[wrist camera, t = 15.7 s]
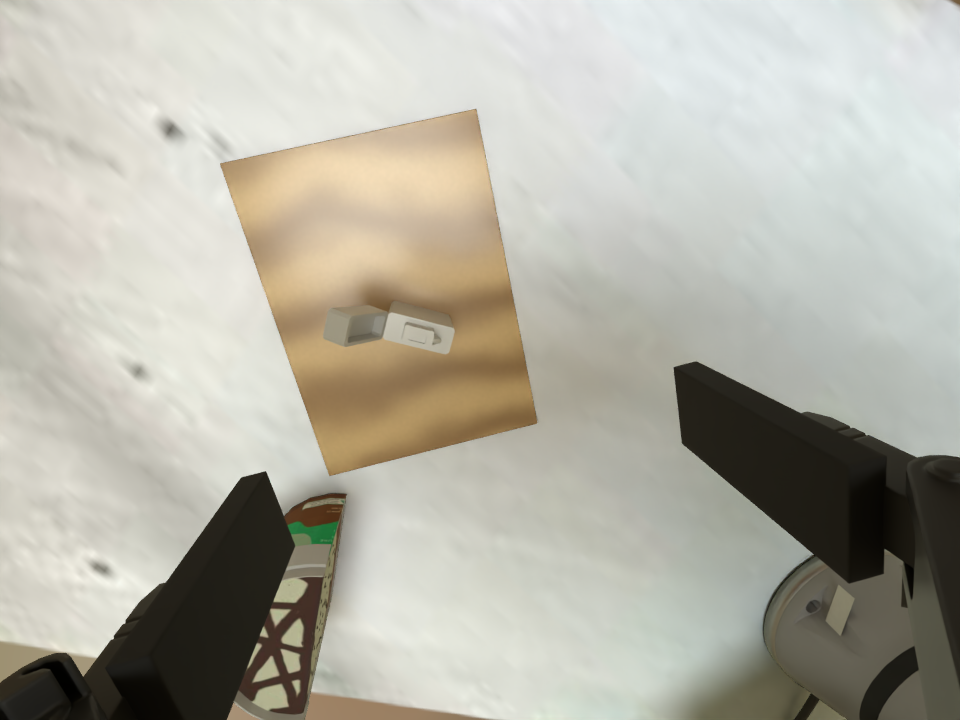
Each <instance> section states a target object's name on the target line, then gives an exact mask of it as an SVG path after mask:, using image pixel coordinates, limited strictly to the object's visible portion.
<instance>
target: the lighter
mask: <svg viewBox="0 0 960 720" xmlns="http://www.w3.org/2000/svg"><path fill="white" fill-rule="evenodd" d="M454 333H455V330H454V327H453V324H452V321H451V318H450V316H449V315H448V314H444V313H440V312H436V311H432V310H429V309H425V308H421V307H417V306H413V305H409V304H406V303H402V302H398V301H393V302H392V303H391V306H390V309H389V313H388V312H387V311H384V310H381V309H378V308H375V307H373V306H370V305H363V306H350V307H337V308H330V309H329V311H328V314H327V318H326V323H325V328H324V333H323V338H324V339H325V340H328V341H330V342H333V343H335V344H338V345H340V346H343V347H348V346H353V345H357V344H362V343H367V342H371V341H376V340H381V339H382V337H383V338H384V339H385V340H388V341H392V342H396V343H400V344H404V345H409V346H413V347H417V348H421V349H425V350H429V351H433V352H437V353H441V354H445V355H446V354H447V353H449V351H450V347H451V343H452V340H453V336H454Z"/></svg>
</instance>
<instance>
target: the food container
mask: <svg viewBox="0 0 960 720" xmlns="http://www.w3.org/2000/svg"><path fill="white" fill-rule="evenodd" d="M346 496H347V494H327V495H322V496H317V497H312V498H309V499H307V500H306V501H304V502H302V503H300V504H298V505H296V506H294V507H293V508H292V509H291V510H290V511H289V512H288V513H287V514H286V515H285V516H284V518H285V520H286V523H287V525H288V528H289V530H290V533H291V535H292V538H293V541H294V543H295V548H294V551H293V553H292V556H291V558H290V561H289V563H288V566H287V568H286V571H285V573H284V576H283V578H282V581H281V584H280V586H279V589H278V591H277V594H276V596H275V599H274V601H273V604H272V606H271V609H270V611H269V614H268V616H267V619H266V621H265V624H264V627H263V629H262V632H261V634H260V637H259V639H258V642H257V644H256V647H255V649H254V652H253V654H252V657H251V659H250V662H249V665H248V667H247V670H246V672H245V675H244V677H243V680H242V682H241V685H240V687H239V690H238V692H237V695H236V697H235V700H234V703H235V704H236V705H237V706H238V707H239V708H241V709H242V710H244V711H245V712H247V713H248V714H250V715H252V716H254V717H256V718H258V719H260V720H305V717H306V713H307V709H308V704H309V697H310V693H311V688H312V684H313V679H314V675H315V670H316V666H317V661H318V657H319V652H320V648H321V643H322V638H323V634H324V629H325V625H326V620H327V616H328V611H329V607H330V602H331V598H332V592H333V585H334V578H335V571H336V564H337V557H338V551H339V544H340V537H341V530H342V523H343V516H344V509H345V503H346Z"/></svg>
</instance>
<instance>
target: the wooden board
mask: <svg viewBox="0 0 960 720" xmlns="http://www.w3.org/2000/svg"><path fill="white" fill-rule="evenodd" d="M220 165H221V168H222V171H223V174H224V177H225V179H226V182H227V185H228V188H229V191H230V194H231V197H232V199H233V202H234V205H235V208H236V211H237V214H238V217H239V219H240V222H241V225H242V228H243V231H244V234H245V236H246V239H247V242H248V245H249V248H250V251H251V254H252V256H253V259H254V262H255V265H256V268H257V271H258V274H259V276H260V279H261V282H262V285H263V288H264V291H265V293H266V296H267V299H268V302H269V305H270V308H271V311H272V313H273V316H274V319H275V322H276V325H277V328H278V330H279V333H280V336H281V339H282V342H283V345H284V348H285V350H286V353H287V356H288V359H289V362H290V365H291V368H292V370H293V373H294V376H295V379H296V382H297V385H298V387H299V390H300V393H301V396H302V399H303V402H304V405H305V407H306V410H307V413H308V416H309V419H310V422H311V425H312V427H313V430H314V433H315V436H316V439H317V442H318V444H319V447H320V450H321V453H322V456H323V459H324V462H325V464H326V467H327V470H328V473H329V476H331V475H335V474H339V473H343V472H347V471H351V470H355V469H359V468H363V467H367V466H371V465H375V464H378V463H382V462H386V461H390V460H394V459H398V458H402V457H406V456H410V455H414V454H418V453H422V452H426V451H430V450H434V449H438V448H442V447H446V446H450V445H454V444H458V443H462V442H466V441H470V440H474V439H477V438H481V437H485V436H489V435H493V434H497V433H501V432H505V431H509V430H513V429H517V428H521V427H525V426H529V425H533V424H537V418H536V413H535V408H534V403H533V398H532V393H531V388H530V383H529V377H528V372H527V367H526V362H525V357H524V352H523V347H522V342H521V336H520V331H519V326H518V321H517V316H516V311H515V306H514V300H513V295H512V290H511V285H510V280H509V275H508V270H507V265H506V259H505V254H504V249H503V244H502V239H501V234H500V229H499V224H498V218H497V213H496V208H495V203H494V198H493V193H492V188H491V183H490V177H489V172H488V167H487V162H486V157H485V152H484V147H483V141H482V136H481V131H480V126H479V121H478V116H477V111H476V109H474V110H469V111H464V112H460V113H455V114H450V115H446V116H441V117H436V118H432V119H427V120H422V121H418V122H413V123H408V124H403V125H399V126H394V127H389V128H385V129H380V130H375V131H371V132H366V133H361V134H357V135H352V136H347V137H343V138H338V139H333V140H328V141H324V142H319V143H314V144H310V145H305V146H300V147H296V148H291V149H286V150H282V151H277V152H272V153H267V154H263V155H258V156H253V157H249V158H244V159H239V160H235V161H230V162H225V163H221V164H220ZM393 301H398V302H402V303H406V304H409V305H413V306H417V307H421V308H425V309H429V310H432V311H436V312H440V313H444V314H448V315H449V316H450V318H451V321H452V324H453V327H454V330H455V333H454V336H453V340H452V343H451V347H450V351H449V353H447V354H446V355H445V354H441V353H437V352H433V351H429V350H425V349H421V348H417V347H413V346H409V345H404V344H400V343H396V342H392V341H388V340H385V339H384V338H383V337H382V339H381V340H376V341H371V342H367V343H362V344H357V345H353V346H348V347H343V346H340V345H338V344H335V343H333V342H330V341H328V340H325V339H324V338H323V333H324V328H325V323H326V318H327V314H328V311H329V309H330V308H337V307H350V306H363V305H370V306H373V307H375V308H378V309H381V310H384V311H387V312H388V313H389V309H390V306H391V303H392V302H393Z"/></svg>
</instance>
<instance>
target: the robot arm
mask: <svg viewBox="0 0 960 720" xmlns="http://www.w3.org/2000/svg"><path fill="white" fill-rule="evenodd" d="M674 376H675V385H676V393H677V402H678V411H679V420H680V429H681V438H682V444H683V445H684V446H686V447H687V448H688V449H689V450H690V451H692V452H693V453H694V454H695V455H696V456H698V457H699V458H700V459H701V460H702V461H703V462H705V463H706V464H707V465H708V466H709V467H711V468H712V469H713V470H714V471H715V472H717V473H718V474H719V475H720V476H721V477H723V478H724V479H725V480H726V481H727V482H728V483H730V484H731V485H732V486H733V487H734V488H736V489H737V490H738V491H739V492H740V493H742V494H743V495H744V496H745V497H746V498H747V499H749V500H750V501H751V502H752V503H753V504H755V505H756V506H757V507H758V508H759V509H761V510H762V511H763V512H764V513H765V514H767V515H768V516H769V517H770V518H771V519H772V520H774V521H775V522H776V523H777V524H778V525H780V526H781V527H782V528H783V529H784V530H786V531H787V532H788V533H789V534H790V535H792V536H793V537H794V538H795V539H796V540H797V541H799V542H800V543H801V544H802V545H803V546H805V547H806V548H807V549H808V550H809V551H811V552H812V553H813V554H814V555H815V556H816V557H814V558H813V559H811V560H809V561H808V562H806V563H805V564H804V565H802V566H801V567H800V568H798V569H797V570H796V571H795V572H794V573H793V574H792V575H791V576H790V577H789V578H788V579H787V580H786V581H785V582H784V583H783V585H782V586H781V587H780V588H779V590H778V591H777V593H776V594H775V596H774V598H773V600H772V602H771V604H770V606H769V608H768V611H767V614H766V618H765V624H764V638H765V643H766V646H767V649H768V651H769V653H770V654H771V656H772V657H773V658H774V660H775V661H776V662H777V663H778V665H779V666H780V667H781V668H782V670H783V671H784V672H785V673H786V674H787V675H788V676H789V677H791V678H792V679H793V680H794V681H795V682H796V683H797V684H799V685H800V686H801V687H803V688H805V689H807V690H808V691H809V692H810V693H811V694H810V696H809V698H808V699H807V701H806V702H805V704H804V705H803V707H802V709H801V710H800V712H799V713H798V714H797V716H796V717H795V719H794V720H806V719H807V718H808V717H809V715H810V714H811V712H812V711H813V709H814V707H815V706H816V704H817V703H818V701H819V700H821V701H822V702H824V703H825V704H826V705H828V706H829V707H831V708H832V709H833V710H835V711H836V712H838V713H839V714H840V715H842V716H843V717H845V718H846V719H847V720H960V457H953V456H946V455H929V456H923V457H918V458H916V457H914V456H912V455H910V454H908V453H906V452H904V451H902V450H899V449H897V448H895V447H893V446H891V445H889V444H887V443H885V442H882V441H880V440H878V439H876V438H874V437H872V436H870V435H867V436H866V435H865V433H863V432H861V431H859V430H857V429H855V428H850V426H848V425H846V424H844V423H842V422H840V421H838V420H836V419H834V418H831V417H828V416H823V415H819V414H815V413H811V412H804V413H799V412H797V411H795V410H793V409H791V408H789V407H787V406H785V405H783V404H781V403H779V402H777V401H775V400H773V399H771V398H769V397H767V396H765V395H763V394H761V393H759V392H757V391H755V390H753V389H751V388H749V387H747V386H745V385H743V384H741V383H739V382H737V381H735V380H733V379H731V378H729V377H727V376H725V375H723V374H721V373H719V372H717V371H715V370H713V369H711V368H709V367H707V366H705V365H703V364H701V363H699V362H697V361H696V362H692V363H688V364H684V365H680V366H676V367H674ZM294 548H295V543H294V541H293V538H292V535H291V533H290V530H289V528H288V525H287V523H286V520H285V518H284V515H283V513H282V510H281V508H280V505H279V503H278V500H277V498H276V495H275V493H274V490H273V488H272V485H271V483H270V480H269V478H268V475H267V473H266V471H265V472H261V473H257V474H254V475H250V476H246V477H242V478H241V479H240V480H239V481H238V483H237V484H236V486H235V487H234V488H233V490H232V491H231V492H230V494H229V495H228V497H227V498H226V499H225V501H224V502H223V504H222V505H221V506H220V508H219V509H218V511H217V512H216V513H215V515H214V516H213V518H212V519H211V520H210V522H209V523H208V525H207V526H206V527H205V529H204V530H203V532H202V533H201V534H200V536H199V537H198V539H197V540H196V541H195V543H194V544H193V546H192V547H191V548H190V550H189V551H188V553H187V554H186V555H185V557H184V558H183V559H182V561H181V562H180V564H179V565H178V566H177V568H176V569H175V571H174V572H173V573H172V575H171V576H170V578H169V579H168V580H167V582H166V583H162V584H159V585H158V586H157V587H156V588H155V589H154V590H153V591H151V592H150V593H149V594H148V595H147V596H146V597H145V598H144V599H142V600H141V601H140V602H139V603H138V605H137V606H136V607H135V609H134V610H133V611H132V613H131V614H130V615H129V617H128V618H127V619H126V623H125V624H123V625H122V626H121V627H120V629H119V630H118V631H117V633H116V634H115V635H114V639H113V640H111V641H110V642H109V643H108V645H107V646H106V647H105V649H104V650H103V651H102V653H101V654H100V655H99V657H98V658H97V659H96V661H95V662H94V663H93V665H92V666H91V668H90V669H89V670H88V671H87V673H86V674H85V675H84V677H83V676H82V674H81V673H80V671H79V670H78V668H77V666H76V664H75V663H74V661H73V660H72V658H71V657H70V656H69V655H68V654H67V653H55V654H51V655H48V656H46V657H43V658H40V659H38V660H36V661H34V662H32V663H30V664H28V665H26V666H24V667H22V668H21V669H19V670H18V671H16V672H15V673H13V674H12V675H11V676H9V677H7V678H6V679H5V680H3V681H2V682H1V683H0V720H227V718H228V715H229V713H230V710H231V708H232V705H233V703H234V700H235V697H236V695H237V692H238V690H239V687H240V685H241V682H242V680H243V677H244V675H245V672H246V670H247V667H248V665H249V662H250V659H251V657H252V654H253V652H254V649H255V647H256V644H257V642H258V639H259V637H260V634H261V632H262V629H263V627H264V624H265V621H266V619H267V616H268V614H269V611H270V609H271V606H272V604H273V601H274V599H275V596H276V594H277V591H278V589H279V586H280V584H281V581H282V578H283V576H284V573H285V571H286V568H287V566H288V563H289V561H290V558H291V556H292V553H293V551H294Z"/></svg>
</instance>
